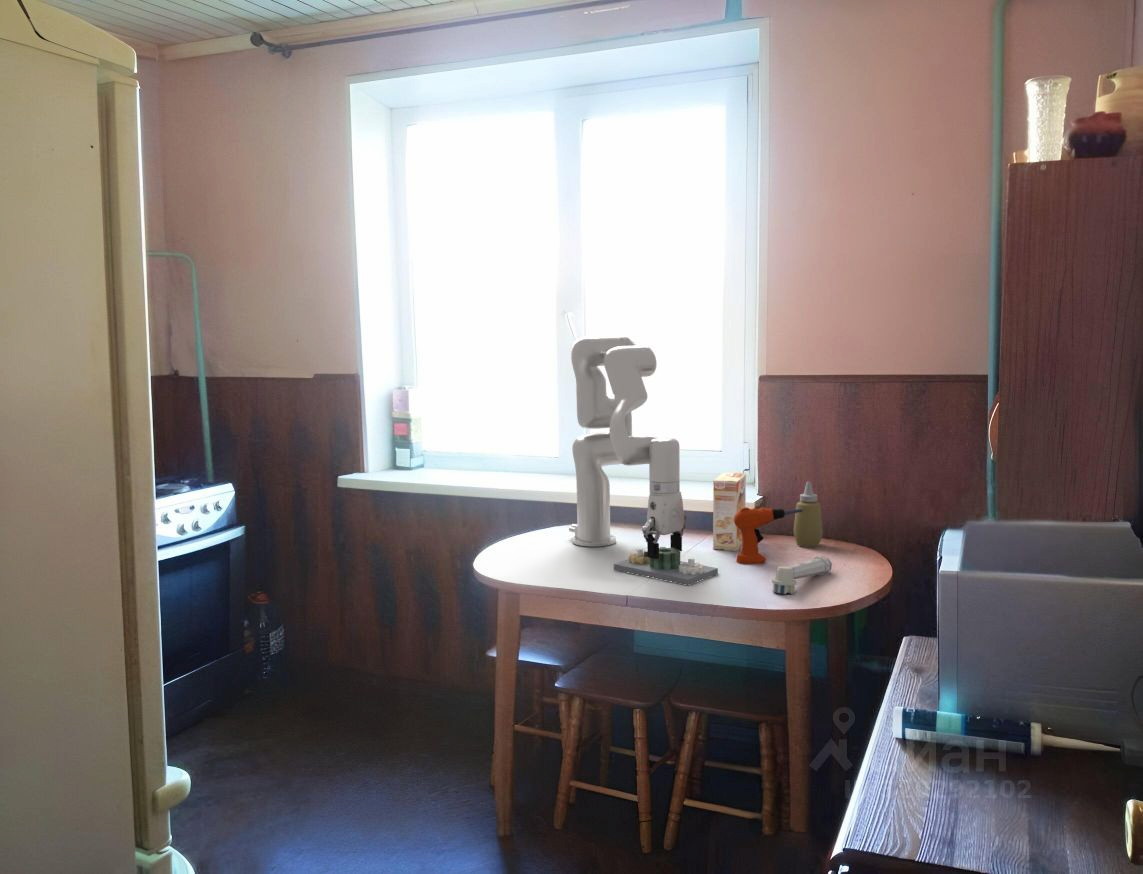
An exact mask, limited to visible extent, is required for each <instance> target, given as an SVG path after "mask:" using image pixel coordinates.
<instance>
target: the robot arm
mask: <svg viewBox="0 0 1143 874" xmlns="http://www.w3.org/2000/svg"><path fill="white" fill-rule="evenodd" d="M570 356H571V358H570V359H571V365H572V369H573V370H572V371H573V372H574V377H575V383H576V385H575V388H576V389H575V391H576V417H577V423H578V425H579V426H580V427H581V428H582V429H586V430H595V429H598V430H600V429H609V432H595V433H586V434H583V435H580V436H578V437H576V439H575V440H574V441H573V444H572V456H573V462H574V468H575V480H576V513H577V515H576V519H577V521H576V523H577V524H576V523H572V524H571V526H570V527H569V528H568V531H569V533H570V532H571V533H574V536H573V537H572V539H571V540H572V544H574V545H577V546H581V547H589V548H591V547H596V548H598V547H606V546H611V545H612V544H616V542H617V541H616V540H617V539H616V536H614V535H613V534H611V495H610V494H611V493H610V492H611V491H610V480H609V478H608V475H607V474H606V472H605V471H604V469H603V467H606V466H616V465H624V466H629V467H630V466H640V465H641V466H642V465H649V469H648V470H649V473H648V474H649V478H648V479H649V495H648V499H647V500H648V501H647V511H646V513H647V514H646V523H645V524H644V525H643V526H642V527H641V531H642V534H643V537H644V539H645V542H646V543H647V544H646V545H647V556H648V558H653V559H659V548H660V544H659V542H658V541H659V539H660V537H661V536H666V535H667V536H668V535H670V548H671V547H672V548H676V550H680V552H682V551H683V536H684V529H685V527H686V522H687V516H686V515H684V514H685V513H684V502H683V496H682V491H680V490H681V489H680V486H681V483H680V476H681V475H680V470H681V469H680V442H679V441H678V440H677V439H676V438H671V437H666V436H665V435H662V434H660V433H657V434H656V433H654V434H652V433H651V434H641V435H640V434H639V435H633V424H632V419H633V418H632V417H633V416H632V415H633V414H632V412H633V411H635V410H637V409H638V408H640V407H641V406H643V405H644V404H645V403H646V402H647V401H648V392H647V389H646V387H645V384H644V380H643V378H644V377H651V376H652V375H654V373H655V371H656V369H657V359H656V358H657V357H656V355H655V353H654V351H653V350H652V348H650V346H648V345H647V344H645V343H644V342H642V341H640V340H638V339H636V338H635V337H632V336H630V335H626V334H613V335H612V334H608V335H607V334H603V335H600V334H599V335H586V336H582V337H579V338H578V339H577V340H575V341H574V343H573V345H572V348H571V355H570ZM599 366H600V367H602V366H603V367H604V368H605V371H606V374H607V378H608V383H609V385H610V388H611V391H612V394H607V379H606V377H605V375H604V373H603V372H602V370H601V369H600V368H599Z"/></svg>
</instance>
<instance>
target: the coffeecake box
mask: <svg viewBox="0 0 1143 874" xmlns="http://www.w3.org/2000/svg"><path fill="white" fill-rule="evenodd" d="M712 482H713V485H712V486H713V489H712V490H713V492H712V493H713V495H712V496H713V500H712V501H713V503H712V505H713V508H712V509H713V513H712V514H713V516H712V517H713V518H712V525H713V526H712V531H713V532H712V534H713V535H712V536H713V537H712V538H713V539H712V542H713V543H712V549H713V550H720V549H724V550H723V551H732V550H735V551H736V552H737V551H739V549H740V548H741V547H742V533H741V530H740V529H739V528H738V527H737V526H736V525H735V523H734V516H735V515H736V513H738V512H739V511H740V510H741V509H742V508H745V507H746V502H747V501H746V499H747V498H746V497H747V493H746V492H747V491H746V486H747V485H746V483H747V473H743V472H722V473H721V474H720V475H719V476H717V477H716V478H715V479H714V480H713V481H712Z"/></svg>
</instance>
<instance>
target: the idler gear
mask: <svg viewBox="0 0 1143 874" xmlns="http://www.w3.org/2000/svg"><path fill="white" fill-rule="evenodd" d="M680 561H681V551H680V550H676V548H672V547H671V546H670V547H666V546H659V559H653V558H650V567H654V569H658V570H659V569H664V570H670V569H677V568H679V565H680Z"/></svg>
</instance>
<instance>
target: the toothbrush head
mask: <svg viewBox="0 0 1143 874" xmlns="http://www.w3.org/2000/svg"><path fill="white" fill-rule="evenodd" d="M832 566H833V563H832V561H831V560H830V558H829V557H828V558H827V557H819V556H815V557H814V558H813V559H810V560H806V561H803V562H801V563H800V562H799V563H797V564H794V565H791V566H786V565H785V566H778V567H777V569H776V573H775V577H774V578H772V580H771V583H772V584H773V585H772V587H773V588H772V589H773V590H772V592H774V593H775V594H776V593H777V594H783V595H786V594H787V593H789V594H794V593H795V586H797V583H798V582H797V580H798V579H803V578H809V577H814V576H817V575H818V576H823V575H824V574H827V573H829V572H830V571H831V570H832Z"/></svg>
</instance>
